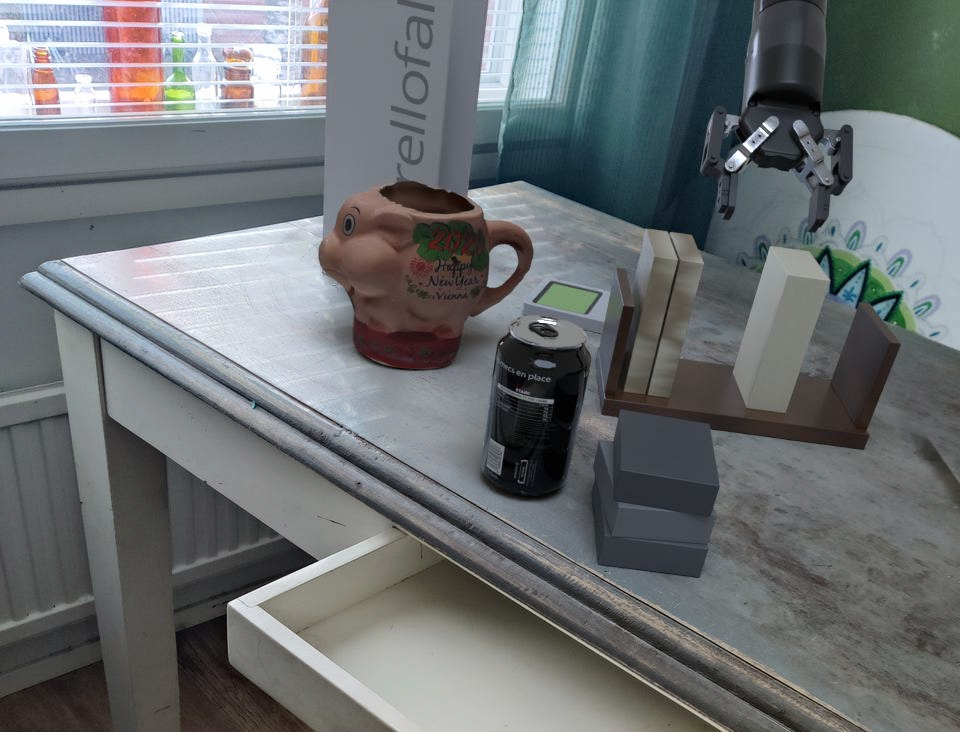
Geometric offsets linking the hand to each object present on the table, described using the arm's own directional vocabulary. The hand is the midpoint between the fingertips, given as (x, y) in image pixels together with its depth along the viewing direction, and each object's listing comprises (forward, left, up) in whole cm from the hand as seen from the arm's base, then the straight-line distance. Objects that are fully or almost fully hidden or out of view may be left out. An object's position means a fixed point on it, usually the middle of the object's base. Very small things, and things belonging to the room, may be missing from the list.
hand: (771, 222), depth 95 cm
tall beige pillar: (0, +13, -12) cm, 18 cm away
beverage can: (+22, +33, -14) cm, 42 cm away
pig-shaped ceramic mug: (+32, +10, -14) cm, 36 cm away
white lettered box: (+37, -6, -14) cm, 40 cm away
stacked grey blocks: (+13, +38, -13) cm, 43 cm away
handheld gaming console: (+14, -6, -14) cm, 20 cm away
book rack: (+3, +13, -13) cm, 19 cm away
